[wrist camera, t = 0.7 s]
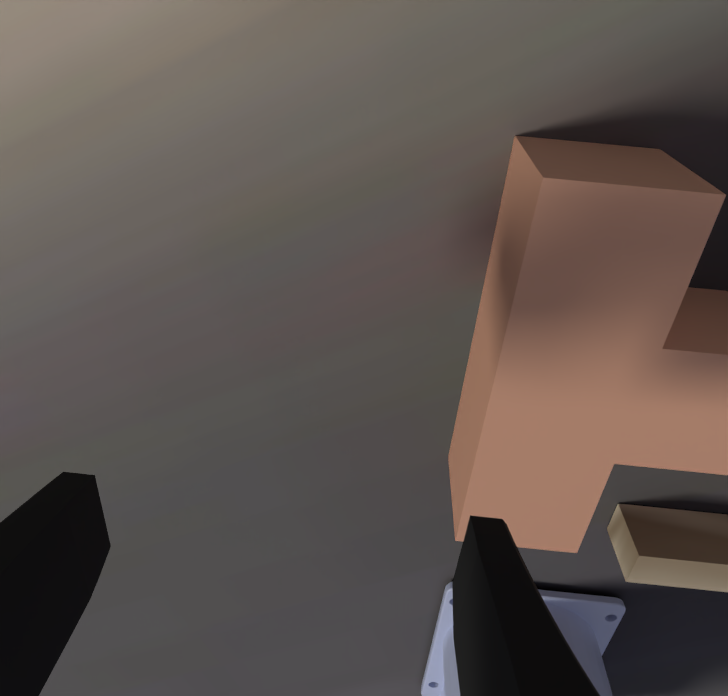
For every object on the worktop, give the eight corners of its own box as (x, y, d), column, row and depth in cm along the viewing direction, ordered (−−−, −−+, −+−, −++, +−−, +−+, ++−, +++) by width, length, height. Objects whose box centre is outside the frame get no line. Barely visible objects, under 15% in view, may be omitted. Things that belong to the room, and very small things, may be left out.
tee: (759, 487, 23) (821, 578, 19) (448, 456, 23) (455, 540, 19) (952, 176, 16) (1096, 230, 13) (514, 135, 16) (543, 177, 13)
